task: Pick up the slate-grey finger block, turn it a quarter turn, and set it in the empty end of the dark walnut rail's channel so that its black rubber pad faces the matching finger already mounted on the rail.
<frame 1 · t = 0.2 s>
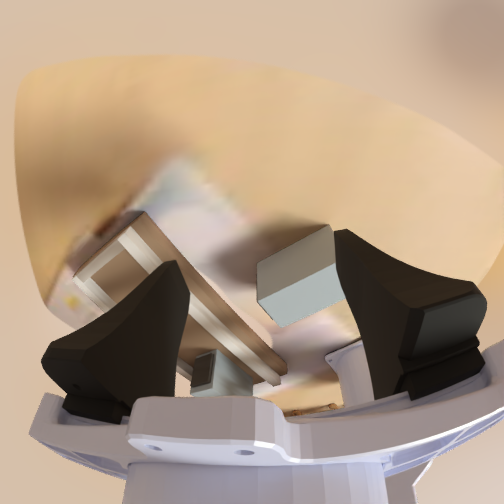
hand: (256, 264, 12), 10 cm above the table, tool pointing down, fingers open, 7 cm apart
walnut rail: (187, 324, 28), on the table
loose finger: (301, 258, 24), on the table
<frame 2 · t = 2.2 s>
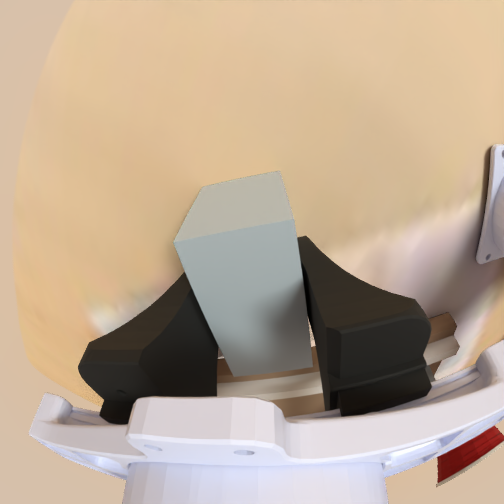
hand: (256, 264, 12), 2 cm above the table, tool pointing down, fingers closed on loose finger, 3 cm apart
plastic cup: (450, 395, 26), on the table
walnut rail: (302, 387, 21), on the table
loose finger: (256, 245, 14), on the table, touching gripper
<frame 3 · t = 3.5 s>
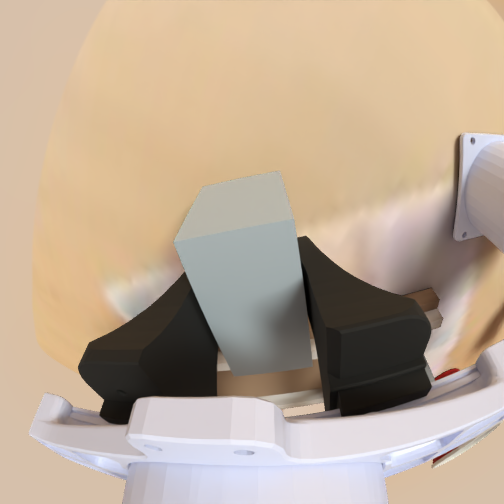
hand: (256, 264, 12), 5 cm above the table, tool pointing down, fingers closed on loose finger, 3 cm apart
plastic cup: (443, 378, 28), on the table
walnut rail: (298, 359, 23), on the table
loose finger: (256, 245, 14), point 3 cm above the table, touching gripper
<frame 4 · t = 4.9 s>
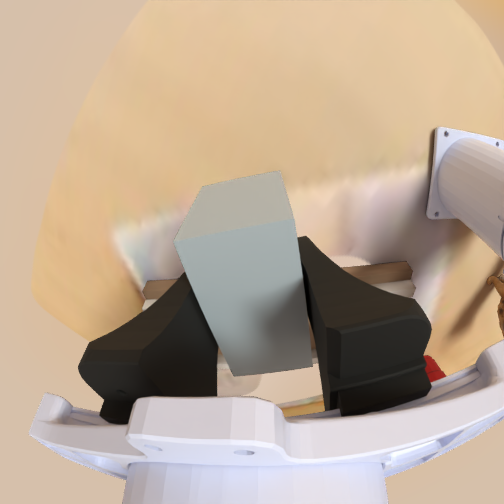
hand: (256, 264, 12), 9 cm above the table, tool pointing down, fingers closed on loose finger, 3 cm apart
plastic cup: (416, 365, 33), on the table
walnut rail: (281, 318, 26), on the table
loose finger: (256, 245, 14), point 7 cm above the table, touching gripper
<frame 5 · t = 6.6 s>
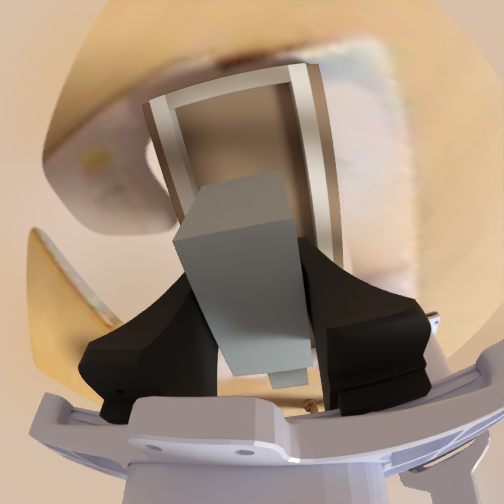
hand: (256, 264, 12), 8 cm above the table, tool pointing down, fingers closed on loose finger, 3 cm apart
walnut rail: (266, 240, 21), on the table
loose finger: (256, 245, 14), point 7 cm above the table, touching gripper
when the fingers open (4 cm above the table, at t = 7.8 s): loose finger stays where it is, resting on walnut rail.
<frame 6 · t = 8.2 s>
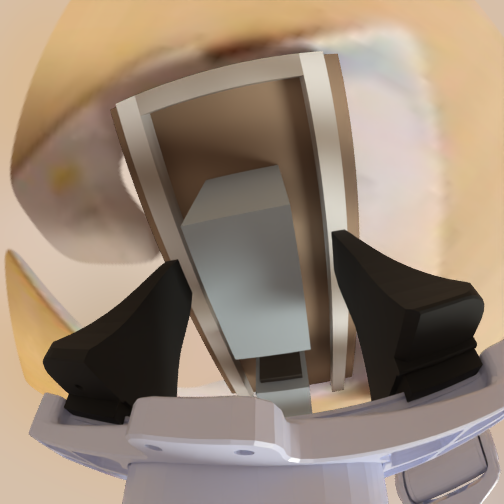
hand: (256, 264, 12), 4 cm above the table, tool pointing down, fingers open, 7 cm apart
walnut rail: (268, 272, 18), on the table
loose finger: (256, 235, 14), point 1 cm above the table, touching walnut rail
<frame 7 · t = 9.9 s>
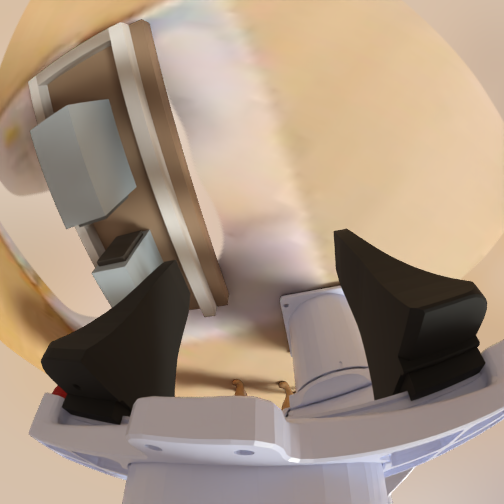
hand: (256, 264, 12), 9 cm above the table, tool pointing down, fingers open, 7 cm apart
walnut rail: (125, 187, 20), on the table
loose finger: (102, 151, 17), point 1 cm above the table, touching walnut rail
lion figurine: (258, 388, 35), on the table
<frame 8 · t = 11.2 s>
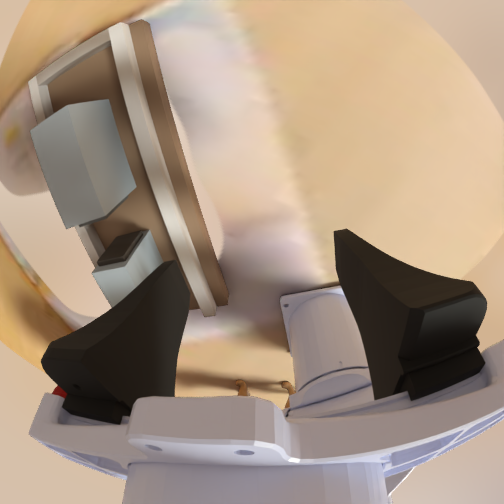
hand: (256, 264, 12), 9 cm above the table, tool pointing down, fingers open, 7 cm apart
walnut rail: (125, 187, 20), on the table
loose finger: (102, 151, 17), point 1 cm above the table, touching walnut rail
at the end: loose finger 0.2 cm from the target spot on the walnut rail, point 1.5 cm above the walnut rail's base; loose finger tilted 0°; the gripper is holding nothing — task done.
